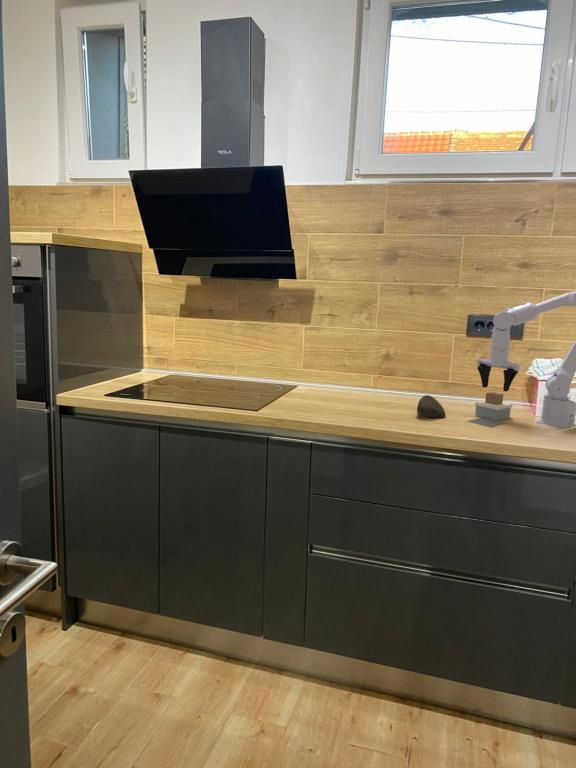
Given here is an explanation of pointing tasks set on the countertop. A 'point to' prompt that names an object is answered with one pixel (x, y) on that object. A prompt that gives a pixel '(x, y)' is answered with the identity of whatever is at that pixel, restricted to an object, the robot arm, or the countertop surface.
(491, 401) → the lid
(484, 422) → the mat
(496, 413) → the box
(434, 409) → the stone
